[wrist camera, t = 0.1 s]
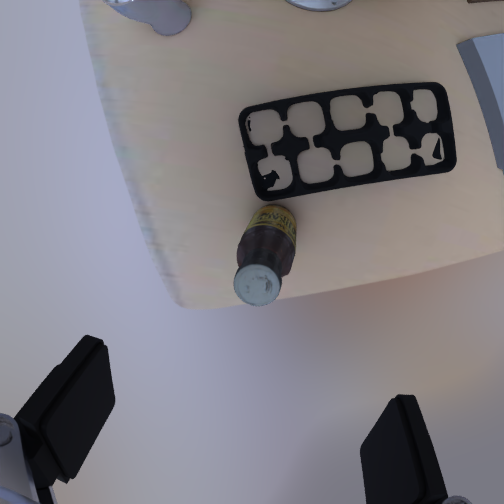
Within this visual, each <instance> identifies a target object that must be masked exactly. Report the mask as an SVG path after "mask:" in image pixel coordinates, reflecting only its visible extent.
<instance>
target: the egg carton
mask: <svg viewBox="0 0 504 504" xmlns="http://www.w3.org/2000/svg"><path fill="white" fill-rule="evenodd" d="M417 89H427V90H431V91H432V92H433V94H434V95H435V98H436V101H437V110H438V114H437V118H436V120H434V121H430V122H429V123H426V122H421V121H420V120H419V118H418V117H417V114H416V112H415V111H414V110H412V109H411V105H410V102H412V101H413V90H417ZM380 91H393V92H396V93H397V94H398V95H399V96H400V98H401V102H402V107H403V112H404V119H403V121H402V122H401V123H399V124H396V125H394V126H393V131H394V135H395V136H402V137H404V138H405V139H406V140H407V141H408V143H409V147H410V149H420V148H421V141H422V138H423V136H424V135H425V134H427V133H437V134H438V135H439V136H440V137H441V139H442V143H443V148H444V158H445V159H444V160H443V161H441V162H439V163H436V164H435V165H428V166H425V164H424V160H423V158H422V157H421V156H418V155H417V154H412V155H411V164H410V166H408V167H407V168H405V169H401V170H395V171H391V172H388V171H387V170H386V168H385V165H384V163H383V162H382V160H381V153H382V152H383V141H384V140H385V139H387V138H388V137H389V136H390V133H389V128H388V127H387V126H381V125H380V124H379V122H378V120H377V117H376V115H375V114H373V113H367V114H366V123H365V125H364V126H363V127H362V128H360V129H354V130H347V131H339V130H337V129H336V128H335V126H334V123H333V120H332V119H331V114H330V100H331V99H333V98H335V97H339V96H346V95H356V96H358V97H359V98H360V99H361V100H362V103H363V106H364V107H365V108H368V107H370V106H372V105H373V96H374V94H377V93H378V92H380ZM308 101H314V102H317V103H318V104H319V105H320V106H321V108H322V111H323V115H324V119H325V130H324V131H323V132H322V133H321V134H319V135H315V136H313V142H314V146H315V147H316V148H320V147H324V148H327V149H328V150H329V151H330V152H331V156H332V158H333V159H334V160H340V151H341V148H342V147H343V146H344V145H345V144H347V143H351V142H357V141H365V142H367V143H368V144H369V145H370V147H371V149H372V154H373V161H374V168H373V170H372V172H370V173H368V174H365V175H361V176H356V177H347V176H345V175H344V174H343V171H342V168H341V167H340V166H339V165H335V166H334V175H333V177H332V178H331V179H330V180H328V181H325V182H320V183H313V184H307V183H304V182H303V181H302V180H301V178H300V174H299V170H298V164H297V156H298V154H299V153H300V152H302V151H304V150H308V149H309V142H308V139H307V138H306V137H296V136H294V135H293V134H292V133H291V131H290V127H289V126H288V125H284V126H285V127H284V126H283V137H282V138H281V140H279V141H278V142H274V143H272V144H273V146H272V147H271V149H272V150H273V151H272V153H273V154H274V156H277V155H283V156H285V159H286V160H288V161H289V162H290V165H291V167H292V168H291V170H292V172H293V173H292V175H293V181H292V183H291V184H290V186H288V187H287V188H285V189H282V190H274V191H267V189H268V188H270V187H273V186H274V184H275V181H276V179H279V176H278V174H277V173H276V171H274V170H272V172H271V173H269V174H267V175H264V176H262V175H261V174H260V172H259V170H258V164H257V162H258V161H259V160H261V159H263V158H266V157H267V156H268V153H267V149H266V146H265V145H260V146H255V145H253V144H252V142H251V141H250V139H249V136H248V133H247V129H246V125H245V122H246V118H247V117H248V115H249V114H250V113H252V112H256V111H261V110H267V109H273V110H275V111H277V112H278V113H279V115H280V118H281V120H282V121H286V120H287V110H288V108H289V107H290V106H291V105H293V104H297V103H301V102H308ZM249 118H250V117H249ZM238 122H239V128H240V132H241V136H242V140H243V144H244V146H243V147H244V148H245V156H246V160H247V164H248V168H249V172H250V177H251V180H252V184H253V187H254V190H255V193H256V195H257V196H258V197H259V198H260V199H261V200H263V201H274V200H279V199H284V198H290V197H295V196H300V195H306V194H311V193H317V192H322V191H328V190H333V189H339V188H345V187H351V186H357V185H363V184H369V183H376V182H382V181H389V180H395V179H403V178H409V177H417V176H425V175H432V174H439V173H446V172H449V171H451V170H452V169H453V168H454V167H455V165H456V162H457V157H456V147H455V139H454V131H453V123H452V117H451V111H450V106H449V101H448V96H447V92H446V90H445V88H444V87H443V86H442V85H441V84H439V83H437V82H422V83H404V84H390V85H378V86H369V87H359V88H351V89H343V90H336V91H329V92H322V93H316V94H309V95H304V96H298V97H292V98H287V99H282V100H277V101H272V102H268V103H263V104H259V105H254V106H250V107H247V108H245V109H243V110H242V111H241V113H240V115H239V119H238ZM248 127H249V131H251V128H250V120H248ZM272 144H271V145H272ZM432 156H433V157H434V158H436V159H440V160H441V159H442V158H441V155H440V139H439V138H438V141H437V143H436V146H435V149H434V151H433V154H432ZM264 178H266V179H264ZM262 186H263V187H262Z"/></svg>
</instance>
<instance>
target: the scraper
mask: <svg viewBox="0 0 504 504" xmlns="http://www.w3.org/2000/svg"><path fill="white" fill-rule="evenodd" d="M488 1H504V0H467V2H468V3H476V2H488Z"/></svg>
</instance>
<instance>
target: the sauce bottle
mask: <svg viewBox="0 0 504 504" xmlns="http://www.w3.org/2000/svg"><path fill="white" fill-rule="evenodd" d="M295 250H296V222H295V219H294V217H293V216H292V214H291V213H290V212H289V210H287V209H286V208H285V207H282V206H278V205H267V206H265V207H263V208H261V209H259V210H258V211H257V212H256V213H255V215H254V216H253V218H252V220H251V221H250V223H249V225H248V227H247V228H246V230H245V232H244V234H243V236H242V238H241V241H240V243H239V244H238V249H237V263H238V266H239V268H238V270H237V272H236V275H235V278H234V289H235V292H236V294H237V296H238V297H239V298H240V299H241V300H242V301H243V302H245V303H247V304H250V305H253V306H263V305H267V304H269V303H271V302H272V301H274V300H275V299H276V297H277V296H278V294H279V292H280V289H281V285H282V278H281V277H283V276H285V275H288V274H289V272H290V270H291V267H292V263H293V259H294V256H295Z"/></svg>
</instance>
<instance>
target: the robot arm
mask: <svg viewBox="0 0 504 504" xmlns="http://www.w3.org/2000/svg"><path fill="white" fill-rule="evenodd" d="M286 1H287V2H289V3H291V4H293V5H295V6H297V7H300V8H303V9H306V10H311V11H331V10H335V9H338V8H341V7H343V6H345V5H347V4H348V3H349V2H351V1H352V0H286ZM333 3H334V4H335V5H333ZM114 405H115V395H114V388H113V382H112V376H111V369H110V362H109V354H108V348H107V346H106V345H104V342H103V340H102V339H99V338H95V337H92V336H90V335H85V336H84V337H83V338H82V339H81V340H80V341H79V342H78V344H77V345H76V346H75V347H74V348H73V350H72V351H71V352H70V353H69V355H67V357H66V358H65V359H64V360H63V361H62V363H61V364H59V365H57V366H56V367H55V368H54V369H53V370H52V371H51V372H50V373H49V375H48V376H47V377H46V378H45V379H44V381H43V382H42V383H41V384H40V386H39V387H38V388H37V389H36V391H35V392H34V393H33V394H32V396H31V397H30V398H29V399H28V401H27V402H26V403H25V404H24V406H23V407H22V408H21V410H20V411H19V412H18V413H17V415H16V416H15V417H14V419H13V418H12V417H11V416H9V415H6V414H2V413H0V504H57V501H56V498H55V494H54V491H53V488H52V485H53V484H54V482H55V480H56V479H58V480H60V481H62V482H64V483H66V484H67V483H68V481H69V479H70V478H71V479H74V478H75V477H76V475H77V473H78V472H79V470H80V468H81V466H82V464H83V462H84V460H85V459H86V457H87V455H88V453H89V451H90V449H91V447H92V445H93V444H94V442H95V440H96V438H97V436H98V435H99V433H100V431H101V429H102V427H103V426H104V424H105V422H106V420H107V418H108V417H109V415H110V413H111V411H112V409H113V407H114ZM360 457H361V463H362V471H363V479H364V487H365V494H366V504H472V503H471V502H470V501H469V500H468V499H466V498H465V497H462V496H452V497H449V498H448V494H447V491H446V487H445V484H444V480H443V477H442V473H441V470H440V467H439V464H438V460H437V457H436V454H435V451H434V447H433V444H432V441H431V439H430V436H429V433H428V430H427V428H426V425H425V422H424V419H423V416H422V413H421V410H420V408H419V405H418V402H417V400H416V397H415V396H414V395H401V394H398V395H397V396H396V397H395V398H392V399H391V400H390V401H389V403H388V405H387V406H386V408H385V410H384V411H383V413H382V414H381V416H380V417H379V419H378V421H377V422H376V424H375V425H374V427H373V428H372V430H371V431H370V433H369V434H368V436H367V437H366V439H365V440H364V442H363V444H362V445H361V448H360Z"/></svg>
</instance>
